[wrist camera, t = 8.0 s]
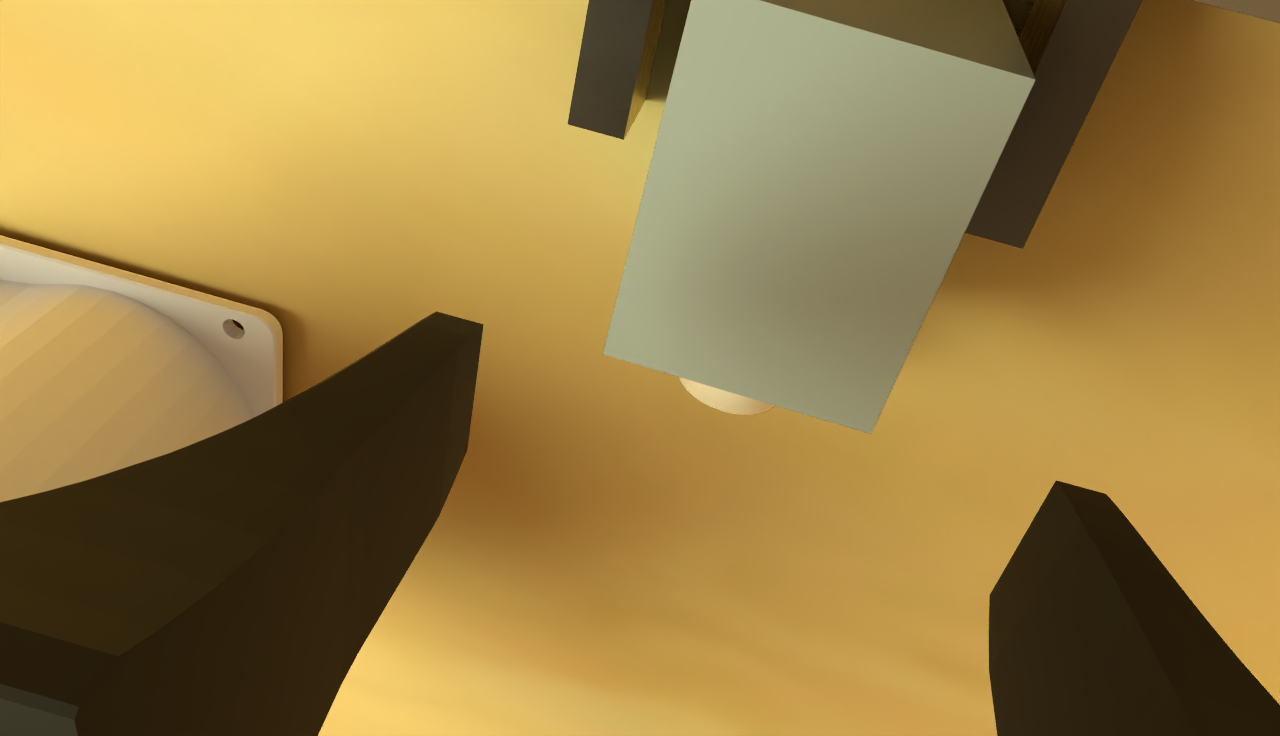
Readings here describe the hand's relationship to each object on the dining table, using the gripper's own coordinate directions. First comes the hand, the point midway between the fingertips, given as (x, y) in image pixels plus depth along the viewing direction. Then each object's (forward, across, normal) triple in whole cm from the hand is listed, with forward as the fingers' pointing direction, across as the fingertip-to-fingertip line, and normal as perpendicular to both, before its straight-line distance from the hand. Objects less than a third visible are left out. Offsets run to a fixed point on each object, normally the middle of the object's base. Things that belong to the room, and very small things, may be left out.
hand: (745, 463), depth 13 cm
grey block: (+9, 0, -2) cm, 9 cm away
